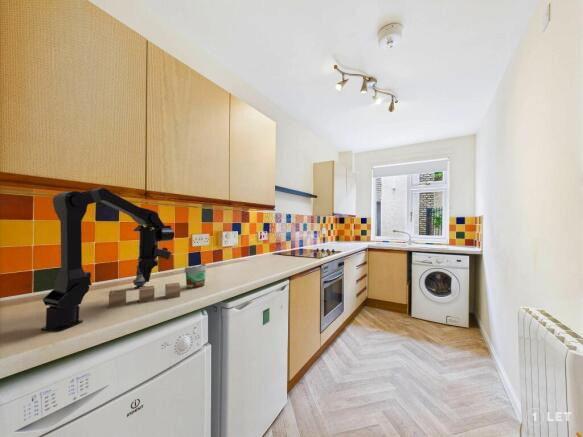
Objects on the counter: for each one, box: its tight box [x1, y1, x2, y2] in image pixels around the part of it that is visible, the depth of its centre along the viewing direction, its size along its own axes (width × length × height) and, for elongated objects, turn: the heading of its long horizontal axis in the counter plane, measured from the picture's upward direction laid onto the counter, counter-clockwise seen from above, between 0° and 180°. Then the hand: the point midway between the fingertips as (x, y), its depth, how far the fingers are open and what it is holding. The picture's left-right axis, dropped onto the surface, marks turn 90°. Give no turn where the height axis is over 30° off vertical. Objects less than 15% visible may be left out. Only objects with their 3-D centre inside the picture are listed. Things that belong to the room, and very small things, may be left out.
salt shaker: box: [132, 264, 147, 290], centre depth 112 cm, size 6×6×12 cm
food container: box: [184, 263, 208, 290], centre depth 114 cm, size 12×6×10 cm, turn 161°
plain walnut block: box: [138, 285, 155, 304], centre depth 93 cm, size 5×5×5 cm
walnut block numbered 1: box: [164, 282, 181, 300], centre depth 98 cm, size 5×5×5 cm
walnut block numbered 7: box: [108, 288, 127, 309], centre depth 88 cm, size 5×5×5 cm
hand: (147, 281), depth 93 cm, fingers closed
